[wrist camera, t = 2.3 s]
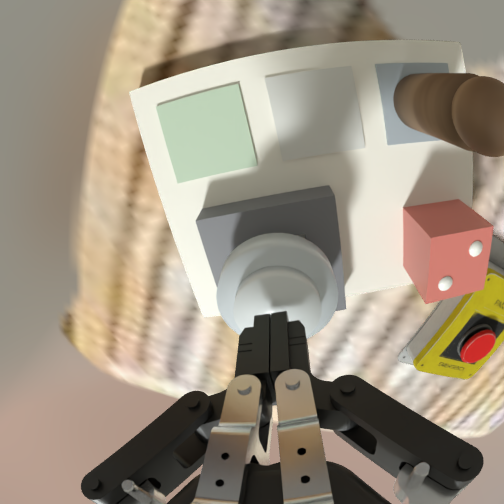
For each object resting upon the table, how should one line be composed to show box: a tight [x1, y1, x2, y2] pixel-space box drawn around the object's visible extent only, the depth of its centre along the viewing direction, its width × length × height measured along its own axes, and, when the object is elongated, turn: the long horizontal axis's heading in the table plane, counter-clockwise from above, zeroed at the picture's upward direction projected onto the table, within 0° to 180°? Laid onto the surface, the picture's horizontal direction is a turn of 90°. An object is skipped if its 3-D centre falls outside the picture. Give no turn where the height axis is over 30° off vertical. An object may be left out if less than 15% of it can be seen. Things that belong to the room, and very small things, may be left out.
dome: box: [216, 233, 338, 338], centre depth 18 cm, size 6×6×4 cm
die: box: [403, 199, 493, 304], centre depth 18 cm, size 4×4×5 cm
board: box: [129, 40, 473, 317], centre depth 19 cm, size 21×17×4 cm
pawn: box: [393, 73, 504, 157], centre depth 12 cm, size 4×4×9 cm
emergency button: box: [398, 235, 504, 380], centre depth 24 cm, size 9×4×15 cm
